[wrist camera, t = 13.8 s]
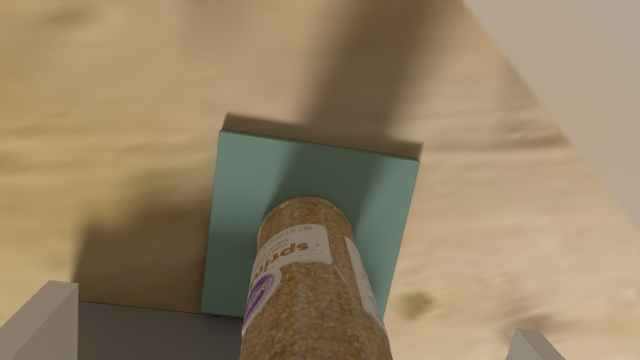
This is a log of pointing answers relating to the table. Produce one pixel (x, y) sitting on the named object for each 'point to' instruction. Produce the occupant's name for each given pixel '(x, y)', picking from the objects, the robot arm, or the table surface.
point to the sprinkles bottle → (310, 290)
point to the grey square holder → (155, 334)
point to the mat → (300, 181)
